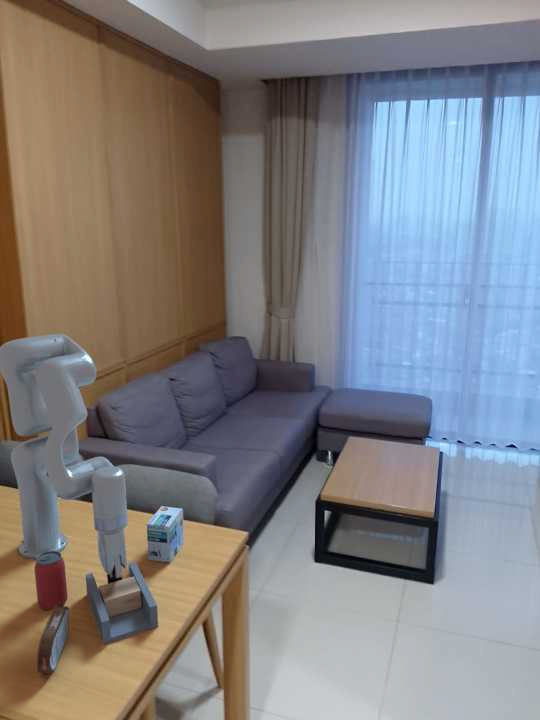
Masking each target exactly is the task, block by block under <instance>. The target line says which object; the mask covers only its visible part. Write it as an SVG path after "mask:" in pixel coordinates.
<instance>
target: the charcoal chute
mask: <svg viewBox="0 0 540 720" xmlns="http://www.w3.org/2000/svg"><path fill="white" fill-rule="evenodd" d="M128 575H129V577H128V578H130V577H134V578H135V580H136V582H137V584H138V586H139V588H140V590H141V606H142V608H138V609H135V610H132V611H128V612H125V613H122V614H119V615H115V616H112V617H108V615H107V612H106V609H105V606H104V603H103V601H102V598H101V595H100V592H99V586H98V584H97V582H96V579H95V577H94V574H93V572H89V573H86V574H85V582H86V583H85V584H86V585H85V587H86V596H87V599H88V601H89V605H90V607H91V611H92V614H93V617H94V620H95V623H96V627H97V629H98V632H99V635H100V638H101V641H102V644H103V645H106V644H110V643H112V642H116V641H119V640H121V639H125V638H128V637H130V636H133V635H136V634H140V633H143V632H147V631H149V630H152V629H156V628H158V627H159V619H158V604H157V602H156V600H155V598H154V596H153V594H152V593H151V590H150V588H149V586H148V584H147V582H146V580H145V578H144V576H143V574H142V572H141V571H140V569H139V566H138V564H137V562H136V561H131V562H129V563H128Z"/></svg>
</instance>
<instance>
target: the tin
mask: <svg viewBox="0 0 540 720" xmlns="http://www.w3.org/2000/svg"><path fill="white" fill-rule="evenodd" d="M51 611H52V612H51V613H50V616H49V618H48V620H47V622H46V625H45V626H44V629H43V631H42V634H41V637H40V640H39V644H38V647H37V648H38V649H37V658H36V669H37V673H38V674H51V673H53V672H54V671H55V670H56V668H57V665H58V663H59V660H60V658H61V655H62V652H63V650H64V647H65V644H66V642H67V637H68V634H69V628H70V619H69V618H70V613H69V612H70V608H69V607H68V606H66V605H65V606H63V605H62V606H55V607H54V609H52V610H51Z"/></svg>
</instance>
